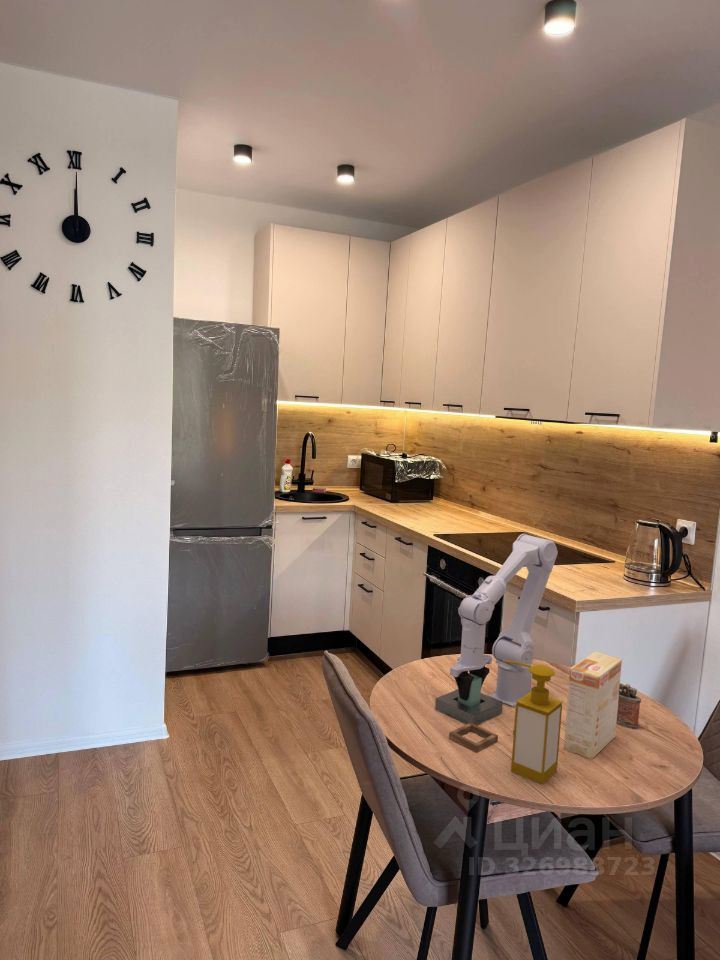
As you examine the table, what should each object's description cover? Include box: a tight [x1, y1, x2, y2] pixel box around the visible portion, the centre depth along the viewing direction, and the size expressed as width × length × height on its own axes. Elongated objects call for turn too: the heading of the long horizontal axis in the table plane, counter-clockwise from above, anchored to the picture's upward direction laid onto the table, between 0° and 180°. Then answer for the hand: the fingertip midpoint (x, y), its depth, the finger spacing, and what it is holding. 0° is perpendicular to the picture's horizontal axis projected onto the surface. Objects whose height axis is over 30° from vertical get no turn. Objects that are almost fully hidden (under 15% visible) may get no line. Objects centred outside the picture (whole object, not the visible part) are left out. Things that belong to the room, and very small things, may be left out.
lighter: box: [616, 682, 642, 730], centre depth 170 cm, size 8×3×10 cm, turn 47°
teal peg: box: [458, 672, 482, 707], centre depth 172 cm, size 4×4×8 cm
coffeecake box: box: [563, 651, 623, 760], centre depth 158 cm, size 15×7×20 cm, turn 139°
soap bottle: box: [503, 660, 563, 785], centre depth 146 cm, size 7×13×24 cm, turn 50°
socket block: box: [434, 688, 504, 726], centre depth 173 cm, size 12×12×3 cm
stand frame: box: [448, 723, 499, 753], centre depth 158 cm, size 8×8×2 cm
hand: (469, 696), depth 172 cm, fingers closed on teal peg, 4 cm apart
